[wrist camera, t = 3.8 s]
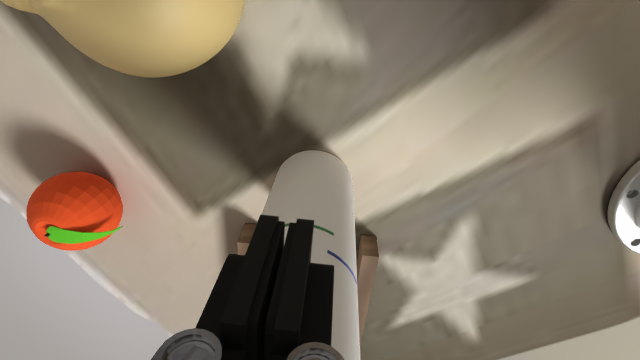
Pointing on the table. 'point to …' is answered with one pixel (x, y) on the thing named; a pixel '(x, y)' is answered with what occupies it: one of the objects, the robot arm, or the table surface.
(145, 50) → the pale yellow lumpy blob
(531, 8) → the table surface
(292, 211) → the cylindrical container
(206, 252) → the table surface
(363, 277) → the cradle rails
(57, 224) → the clementine
